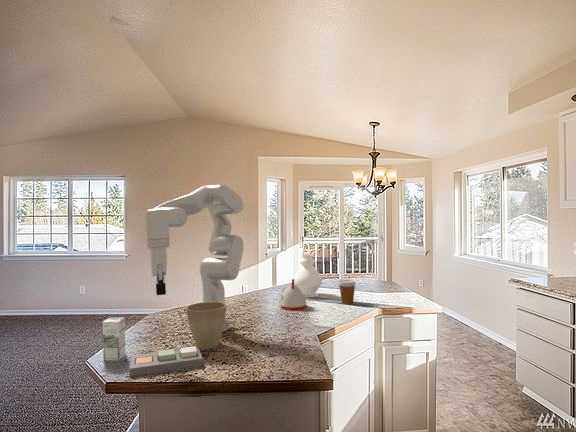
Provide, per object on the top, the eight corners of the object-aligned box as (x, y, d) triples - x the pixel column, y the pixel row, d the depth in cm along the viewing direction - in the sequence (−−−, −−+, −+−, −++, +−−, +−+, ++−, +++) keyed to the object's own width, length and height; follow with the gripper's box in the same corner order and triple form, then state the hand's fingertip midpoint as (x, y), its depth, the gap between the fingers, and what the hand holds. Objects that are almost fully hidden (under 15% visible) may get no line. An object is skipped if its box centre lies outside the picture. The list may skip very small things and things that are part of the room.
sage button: (174, 356, 130) (174, 349, 130) (175, 361, 126) (174, 353, 126) (158, 358, 129) (158, 351, 129) (158, 363, 124) (158, 356, 124)
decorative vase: (327, 293, 241) (326, 254, 241) (313, 299, 226) (312, 256, 226) (302, 291, 251) (301, 253, 251) (288, 296, 236) (287, 255, 236)
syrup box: (126, 357, 138) (125, 316, 138) (119, 363, 132) (118, 321, 132) (110, 357, 138) (109, 317, 138) (102, 363, 132) (101, 321, 132)
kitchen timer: (307, 304, 214) (306, 277, 214) (305, 310, 200) (305, 281, 200) (282, 304, 215) (281, 277, 215) (279, 310, 201) (278, 281, 201)
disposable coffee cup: (357, 304, 210) (356, 282, 210) (339, 305, 210) (339, 283, 210) (354, 300, 220) (354, 279, 220) (337, 301, 220) (337, 280, 220)
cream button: (195, 353, 133) (195, 346, 133) (196, 358, 128) (196, 351, 128) (180, 355, 131) (180, 348, 131) (181, 360, 126) (181, 353, 126)
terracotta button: (152, 363, 128) (152, 356, 128) (152, 369, 123) (152, 361, 123) (136, 366, 126) (136, 358, 126) (135, 371, 122) (135, 363, 122)
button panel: (198, 356, 136) (198, 346, 136) (202, 369, 125) (202, 358, 125) (132, 366, 129) (131, 355, 129) (129, 380, 118) (129, 368, 118)
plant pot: (210, 339, 156) (209, 300, 156) (235, 346, 146) (234, 304, 146) (178, 349, 144) (177, 307, 144) (204, 358, 135) (203, 312, 135)
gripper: (147, 242, 143) (150, 291, 144) (147, 246, 129) (150, 300, 130) (168, 240, 145) (171, 288, 146) (170, 244, 131) (173, 297, 132)
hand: (161, 294), depth 138 cm, fingers closed
